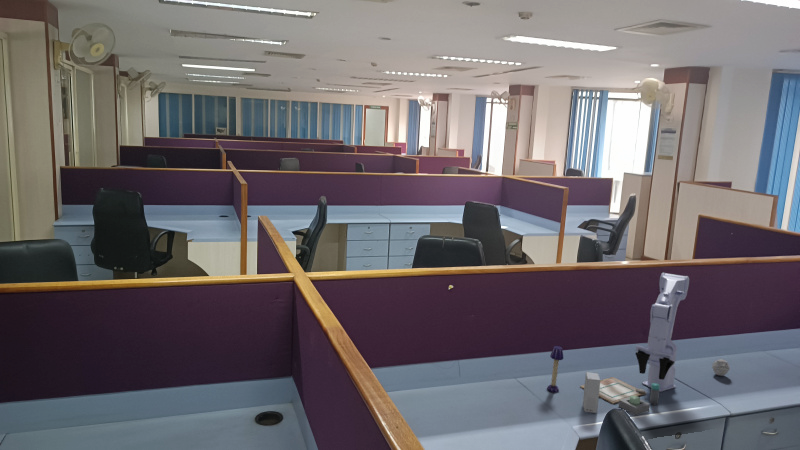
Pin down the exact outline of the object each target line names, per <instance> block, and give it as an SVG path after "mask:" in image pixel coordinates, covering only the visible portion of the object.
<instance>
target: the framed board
mask: <svg viewBox="0 0 800 450" xmlns="http://www.w3.org/2000/svg"><path fill="white" fill-rule="evenodd" d="M579 386H580V389H583V390H584V387H585V384H582V385H579ZM644 395H647V392H646V390H645V389H643V388H638V387H635V386H633V385H630V384H629V383H626V381H625V382H624V381H622V380H621V379H619V378H616V377H614V376H610V377H607V378H604V379H600V389H599V398H600V399H602V400H604V401H605V402H608V403H609V404H612V405H615V404H619V400H620V399H624V398H627V397H630V396H637V397H641V396H644Z"/></svg>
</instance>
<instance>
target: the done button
mask: <svg viewBox="0 0 800 450" xmlns="http://www.w3.org/2000/svg"><path fill="white" fill-rule="evenodd" d="M640 400H641V398H640V396H638V397H637V396H630V399H629V403H631V404H633V405H635V406H636V405H639V404H640Z"/></svg>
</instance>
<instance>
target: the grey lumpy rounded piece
mask: <svg viewBox="0 0 800 450" xmlns="http://www.w3.org/2000/svg"><path fill="white" fill-rule="evenodd" d="M711 368H712V371H713V373H714V374H715V375H716V376H720V377H723V376H725V375H727V374H728V372H729V371H730V365H729V363H728V361H727V360H724V359H721V358H719V359H717V360H715V361H714V362H713V363H712V367H711Z"/></svg>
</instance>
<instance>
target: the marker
mask: <svg viewBox="0 0 800 450" xmlns="http://www.w3.org/2000/svg"><path fill="white" fill-rule="evenodd" d="M659 389H660V385H659V384H656V383H652V385H651V387H650V396H649V404H650V405H653V406H658V403H659V395H660V392H659Z"/></svg>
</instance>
